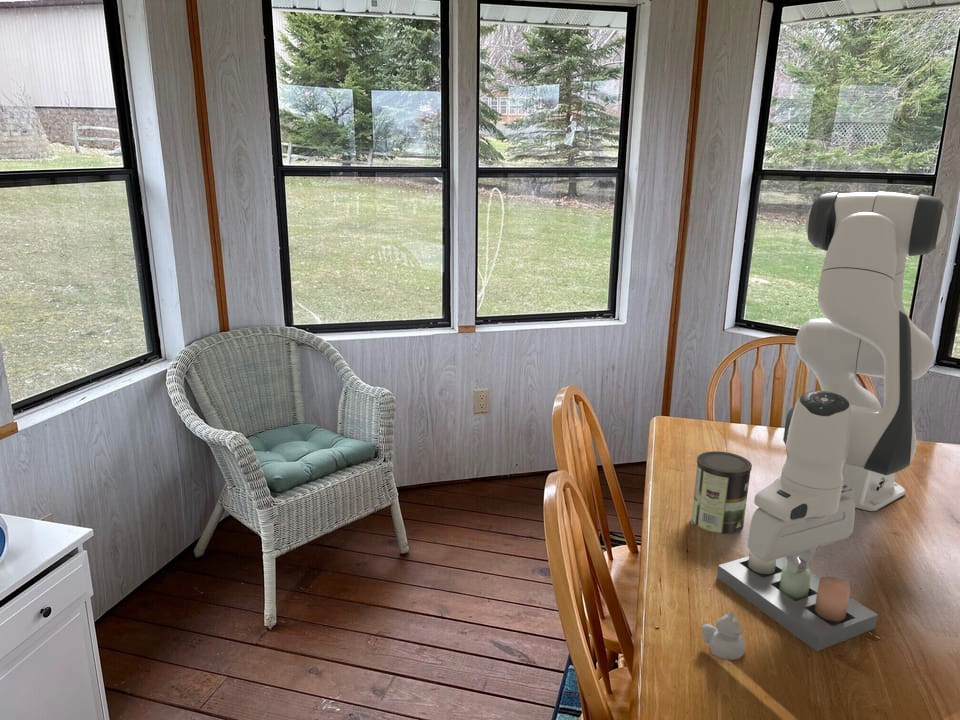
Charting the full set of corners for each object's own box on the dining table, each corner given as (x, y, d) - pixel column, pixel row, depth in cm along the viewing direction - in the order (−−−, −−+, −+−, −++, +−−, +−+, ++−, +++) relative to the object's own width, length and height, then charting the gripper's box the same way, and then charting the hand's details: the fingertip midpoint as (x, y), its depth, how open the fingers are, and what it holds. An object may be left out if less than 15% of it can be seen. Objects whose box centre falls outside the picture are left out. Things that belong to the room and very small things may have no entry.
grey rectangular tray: (770, 565, 132) (773, 548, 131) (874, 633, 114) (877, 614, 113) (716, 582, 127) (718, 565, 126) (815, 656, 109) (819, 637, 108)
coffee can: (739, 515, 150) (747, 453, 146) (746, 541, 140) (755, 475, 136) (688, 510, 152) (695, 448, 148) (692, 535, 142) (699, 469, 138)
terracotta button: (827, 601, 116) (832, 574, 115) (851, 616, 112) (857, 589, 111) (808, 608, 114) (813, 580, 113) (832, 624, 110) (837, 596, 109)
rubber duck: (737, 673, 105) (743, 626, 103) (693, 653, 109) (698, 608, 107) (749, 653, 109) (755, 607, 107) (706, 635, 113) (712, 591, 111)
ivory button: (761, 557, 128) (764, 532, 127) (780, 570, 124) (784, 544, 123) (742, 563, 126) (745, 538, 125) (761, 576, 123) (765, 550, 121)
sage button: (791, 586, 123) (795, 560, 121) (813, 600, 119) (817, 573, 117) (772, 592, 121) (776, 566, 119) (793, 607, 117) (798, 580, 116)
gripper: (837, 474, 121) (825, 547, 125) (746, 496, 113) (736, 574, 117) (871, 490, 116) (857, 565, 120) (778, 514, 107) (766, 595, 111)
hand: (796, 570), depth 118 cm, fingers closed
